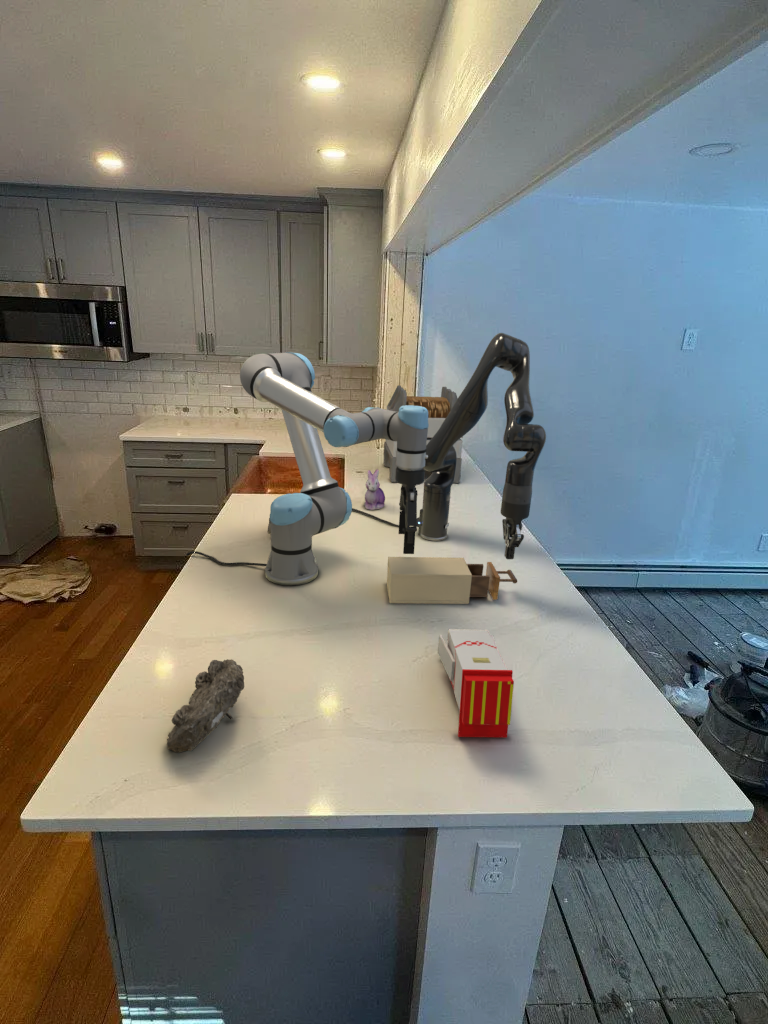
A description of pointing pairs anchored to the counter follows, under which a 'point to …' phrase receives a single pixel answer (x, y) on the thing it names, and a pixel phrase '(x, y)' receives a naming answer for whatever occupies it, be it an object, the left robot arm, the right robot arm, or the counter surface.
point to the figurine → (374, 492)
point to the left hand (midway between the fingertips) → (405, 543)
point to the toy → (478, 682)
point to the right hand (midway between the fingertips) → (508, 558)
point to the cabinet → (428, 580)
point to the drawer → (487, 580)
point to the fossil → (206, 705)
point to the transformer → (436, 417)
